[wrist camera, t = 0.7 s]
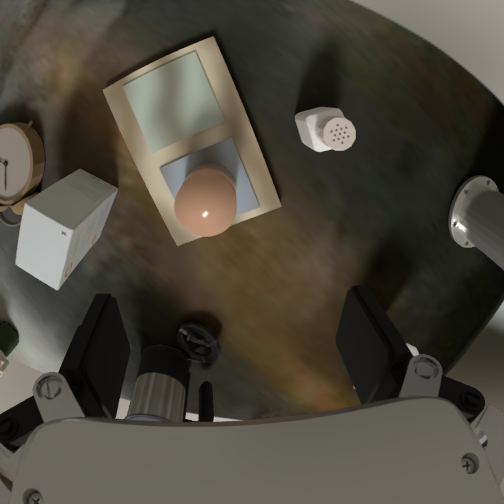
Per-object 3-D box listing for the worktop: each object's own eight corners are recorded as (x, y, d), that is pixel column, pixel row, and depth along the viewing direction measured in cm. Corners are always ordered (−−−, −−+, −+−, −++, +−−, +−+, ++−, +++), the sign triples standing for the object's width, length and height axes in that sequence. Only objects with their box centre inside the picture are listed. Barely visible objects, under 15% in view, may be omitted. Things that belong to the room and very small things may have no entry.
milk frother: (142, 373, 51) (128, 439, 38) (133, 310, 44) (107, 384, 31) (216, 381, 53) (216, 449, 40) (223, 319, 46) (222, 398, 33)
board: (214, 38, 28) (213, 35, 26) (280, 203, 38) (281, 207, 36) (106, 90, 29) (101, 90, 28) (179, 242, 39) (177, 247, 38)
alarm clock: (36, 119, 27) (29, 236, 31) (55, 121, 32) (46, 227, 36) (-18, 123, 25) (-23, 227, 30) (1, 124, 30) (-4, 219, 34)
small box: (80, 167, 33) (23, 200, 22) (119, 187, 35) (74, 230, 24) (63, 218, 36) (13, 265, 25) (99, 238, 38) (58, 292, 27)
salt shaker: (332, 136, 34) (364, 149, 26) (302, 145, 34) (325, 160, 26) (324, 105, 32) (354, 108, 24) (292, 113, 32) (313, 118, 24)
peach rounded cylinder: (224, 154, 33) (222, 167, 27) (243, 200, 36) (246, 223, 29) (176, 174, 34) (163, 192, 27) (197, 218, 36) (190, 244, 30)
